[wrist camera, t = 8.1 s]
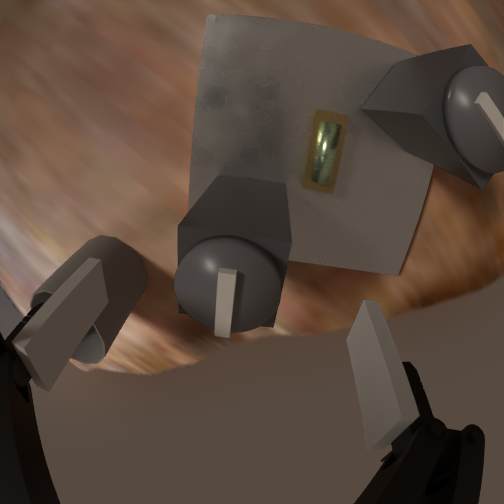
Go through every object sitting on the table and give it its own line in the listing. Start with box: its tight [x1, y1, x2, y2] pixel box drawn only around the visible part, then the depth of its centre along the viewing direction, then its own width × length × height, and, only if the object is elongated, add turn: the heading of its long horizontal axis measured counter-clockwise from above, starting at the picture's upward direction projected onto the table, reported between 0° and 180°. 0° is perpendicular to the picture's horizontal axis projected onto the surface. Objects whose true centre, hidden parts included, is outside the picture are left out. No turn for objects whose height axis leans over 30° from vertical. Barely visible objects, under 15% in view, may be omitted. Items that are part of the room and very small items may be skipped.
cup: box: [30, 235, 147, 364], centre depth 25 cm, size 8×8×10 cm
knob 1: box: [174, 176, 292, 338], centre depth 18 cm, size 5×5×11 cm
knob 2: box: [361, 44, 504, 190], centre depth 13 cm, size 5×5×11 cm
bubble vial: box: [300, 109, 349, 194], centre depth 20 cm, size 6×2×3 cm, turn 173°
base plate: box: [188, 15, 434, 276], centre depth 21 cm, size 20×20×1 cm
